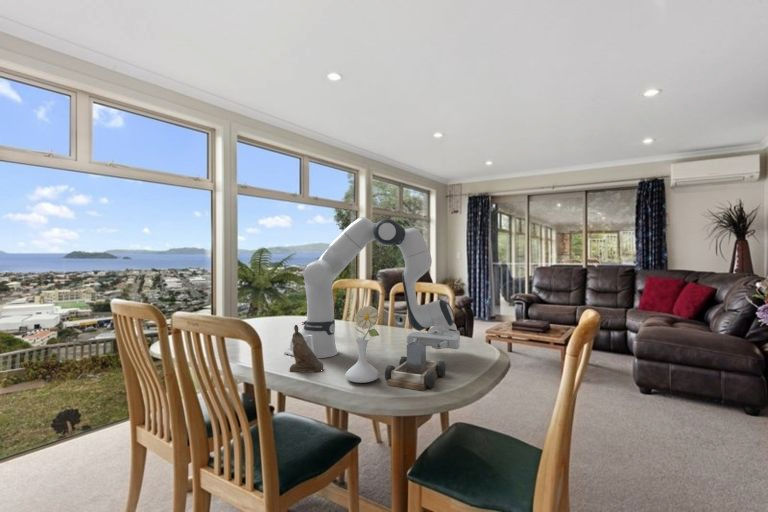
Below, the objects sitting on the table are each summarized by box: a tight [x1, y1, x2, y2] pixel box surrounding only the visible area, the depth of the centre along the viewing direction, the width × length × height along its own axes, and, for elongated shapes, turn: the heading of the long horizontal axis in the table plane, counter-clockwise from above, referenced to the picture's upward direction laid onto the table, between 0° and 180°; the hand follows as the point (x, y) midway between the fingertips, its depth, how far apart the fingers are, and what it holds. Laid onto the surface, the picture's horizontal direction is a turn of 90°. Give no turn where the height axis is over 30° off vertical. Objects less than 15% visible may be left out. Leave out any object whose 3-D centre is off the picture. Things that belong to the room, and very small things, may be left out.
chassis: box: [384, 355, 447, 392], centre depth 126 cm, size 15×20×5 cm
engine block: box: [406, 342, 427, 375], centre depth 126 cm, size 5×5×10 cm
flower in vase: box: [344, 305, 381, 384], centre depth 124 cm, size 13×11×25 cm
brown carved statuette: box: [289, 324, 324, 372], centre depth 135 cm, size 12×6×18 cm, turn 86°
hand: (426, 344), depth 135 cm, fingers open, 8 cm apart
